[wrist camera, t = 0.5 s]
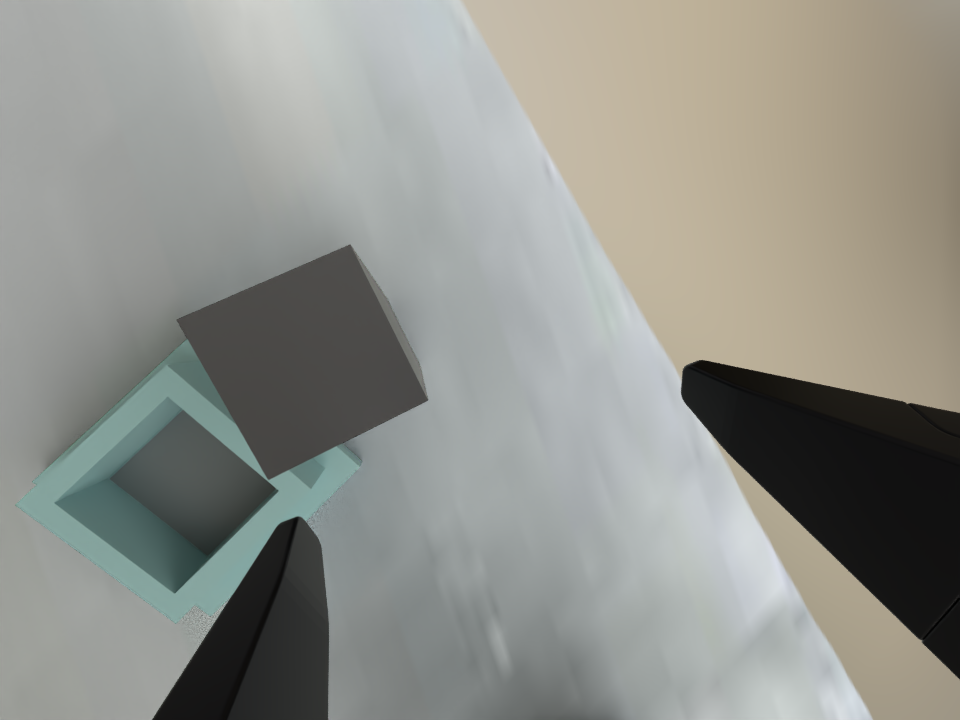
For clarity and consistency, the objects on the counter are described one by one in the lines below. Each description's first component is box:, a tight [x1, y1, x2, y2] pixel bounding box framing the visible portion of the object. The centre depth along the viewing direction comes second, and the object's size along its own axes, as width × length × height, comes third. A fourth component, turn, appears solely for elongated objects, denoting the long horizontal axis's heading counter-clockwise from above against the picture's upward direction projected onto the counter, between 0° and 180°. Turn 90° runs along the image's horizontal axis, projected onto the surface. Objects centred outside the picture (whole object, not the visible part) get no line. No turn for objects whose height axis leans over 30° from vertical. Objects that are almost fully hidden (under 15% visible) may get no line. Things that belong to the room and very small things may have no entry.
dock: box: [16, 339, 362, 624], centre depth 20 cm, size 11×11×4 cm
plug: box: [177, 245, 428, 480], centre depth 16 cm, size 4×4×13 cm
